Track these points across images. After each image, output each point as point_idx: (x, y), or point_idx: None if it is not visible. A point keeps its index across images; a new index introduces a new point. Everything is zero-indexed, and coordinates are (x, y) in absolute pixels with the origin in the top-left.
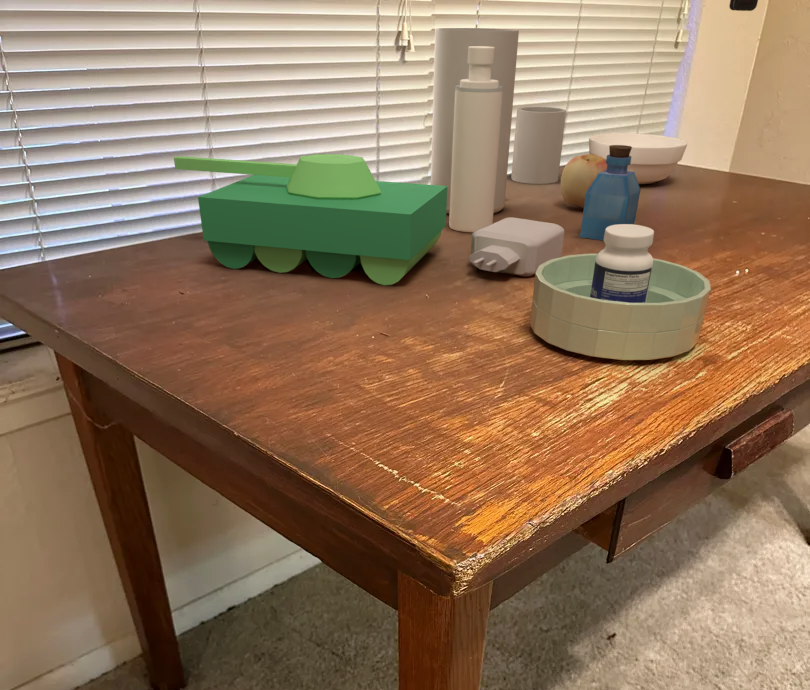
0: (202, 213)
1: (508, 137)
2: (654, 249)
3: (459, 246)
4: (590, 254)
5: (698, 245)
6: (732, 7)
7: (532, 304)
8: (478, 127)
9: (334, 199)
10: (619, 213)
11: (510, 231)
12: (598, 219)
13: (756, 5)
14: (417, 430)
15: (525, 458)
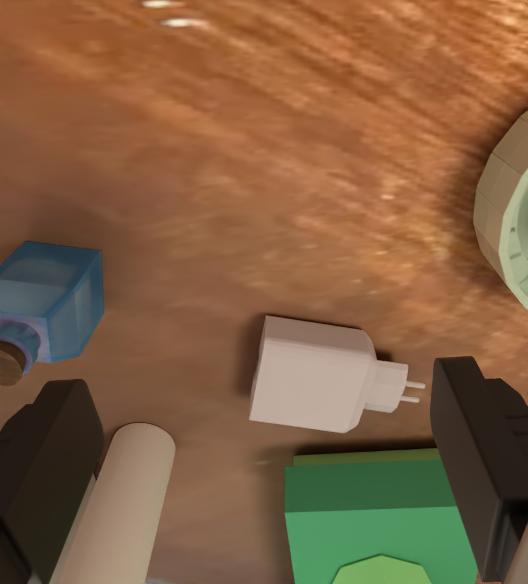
0: None
1: None
2: (105, 191)
3: (248, 432)
4: (513, 281)
5: (23, 116)
6: (98, 436)
7: None
8: (139, 570)
9: (429, 578)
10: (85, 283)
11: (338, 398)
12: (92, 306)
13: (473, 360)
14: None
15: None
